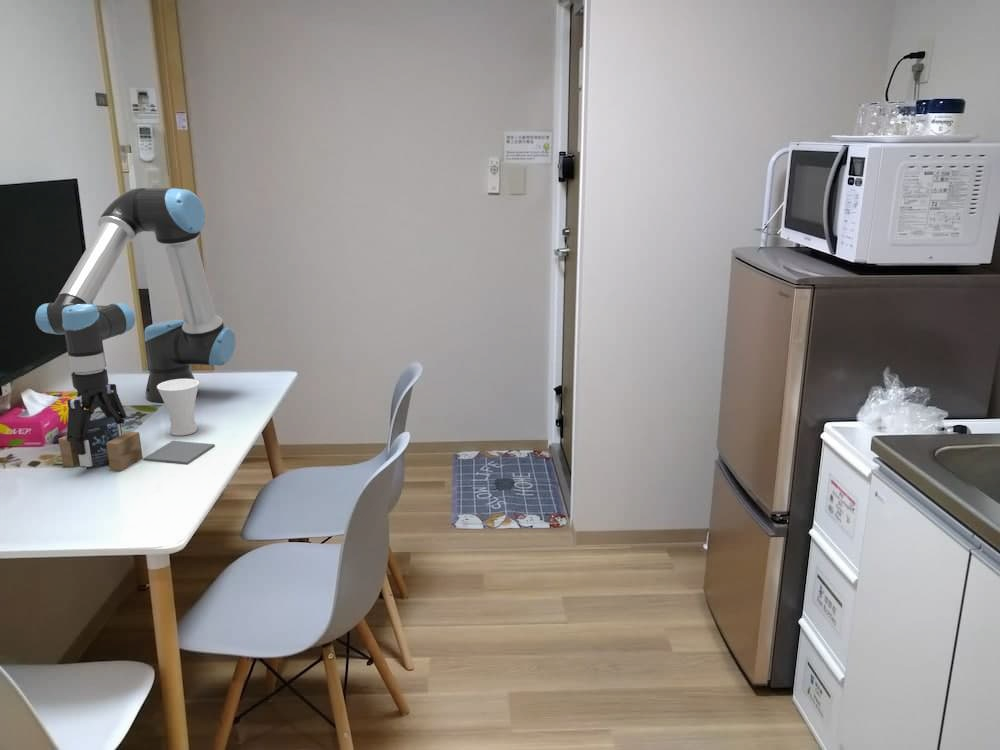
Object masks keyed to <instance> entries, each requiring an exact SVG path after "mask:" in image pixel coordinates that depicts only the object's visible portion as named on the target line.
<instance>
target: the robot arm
mask: <svg viewBox="0 0 1000 750" xmlns="http://www.w3.org/2000/svg"><path fill="white" fill-rule="evenodd" d="M205 218H206V214H205V208H204V205H203V204H202V202H201V200H200V198H199V197H198V196H197V194H195V193H193V192H192V191H191V190H189V189H184V188H183V189H182V188H176V187H172V188H168V187H167V188H166V187H165V188H146V187H139V188H135V189H134V188H133V189H130V190H128V191H127V192H124V193H122V194H121V195H120V196H118V197H117V198H115V200H113V201H112V202H111V203H109V205H108V206H107V207H106V208H105V210H104V211H103V213H102V214H101V215H100V217H99V219H98V221H97V226H98V229H97V230H96V232H95V234H94V236H93V237H92V239H91V240H90V242H89V244H88V246H87V248H86V249H85V250H84V252H83V254H82V255H81V257H80V259H79V260H78V262H77V264H76V265H75V267H74V269H73V271H72V272H71V273H70V275H69V277H68V279H67V281H66V282H65V284H64V286H63V287H62V289H61V290H60V292H59V293H58V296H57V297H56V298H55V301H54V302H49V303H43V304H41V305H40V306H39V307H38V308H37V310H36V311H35V317H34V318H35V324H36V326H37V327H38V328H39V330H41V331H42V332H44V333H46V334H52V335H53V334H54V335H58V336H59V335H61V336H62V335H64V337H65V342H66V348H67V349H66V350H67V355H68V360H69V369H70V371H71V372H72V373H71V374H70V375H71V380H72V387H73V389H75V390H76V391H77V395H76V398H73V399H71V398H69V399H67V407H68V408H67V409H68V413H67V414H68V415H67V416H68V417H67V430H66V435H67V441H70V442H75V445H76V450H77V454H78V455H79V461H80V464H79V465H80V467H85V468H86V467H91V466H92V459H91V453H90V447H89V441H88V440H85V439H86V435H87V431H88V427H89V422H90V420H91V417H92V415H93V414H94V413H95V410H96V409H98V408H99V409H100V410H101V412H103V414H104V415H105V416H106V417H105V418H108V417H114V420H115V422H116V424H117V431H118V436H120V435H122V434H123V431H122V424H124V423H125V421H126V420H125V419H126V418H127V414H126V412H125V411H126V410H125V409H124V406H123V404H122V402H121V398H120V396H119V394H118V390H117V384H115V383H109V375H108V370H107V369H106V368H107V361H106V357H105V350H104V345H103V341H105V340H108V339H110V338H113V337H117V336H121V335H124V334H125V333H127V332H129V331H131V330H132V329H133V328H134V326H135V323H136V317H135V316H136V315H135V312H134V310H133V309H132V308H131V307H130V306H129V305H127V303H126V304H125V303H124V302H116V303H113V302H112V303H110V304H108V305H107V304H106V305H100V304H99V305H97V304H93V303H94V301H95V299H96V297H97V296H98V294H99V292H100V290H101V289H102V288H103V285H104V284H105V282H106V280H107V279H108V277H109V275H110V273H111V272H112V270H113V268H114V266H115V264H116V262H117V261H118V259H119V258H120V255H121V253H122V252H123V251H124V250H125V248H126V245H127V244H128V243H131V242H132V241H134V239H135V237H136V236H137V235H139V234H141V233H142V232H151V233H152V232H153V233H154V235H155V240H156V242H157V243H158V244H160V245H162V246H163V247H164V250H165V253H166V256H167V257H166V258H167V260H168V263H169V267H170V271H171V274H172V277H173V278H172V279H173V282H174V284H175V287H176V292H177V295H178V299H179V302H180V307H181V310H182V314H183V316H184V320H183V319H172V320H165V321H161V322H155V323H153V324H150V325H148V326H146V327H145V328H144V344H145V350H146V357H147V358H146V359H147V364H148V371H149V374H148V379H147V383H146V389H145V396H146V400H148V401H150V402H154V403H164V401H163V399H162V397H161V395H160V393H159V391H158V389H157V385H159V384H160V383H162V382H165V381H169V380H175V379H194V380H196V378H195V377H194V374H193V373H192V370H191V366H190V365H193V366H197V365H198V366H210V367H216V366H217V367H218V366H224V365H226V364H228V363H229V362H230V360H231V359H232V357H233V355H234V352H235V349H236V335H235V331H234V330H233V329H232V328H230V327H229V326H228V327H227V326H226V327H225V325H224V321H223V319H222V317H221V316H219V315H217V314H216V311H215V307H214V303H213V299H212V295H211V291H210V287H209V284H208V281H207V276H206V273H205V272H206V271H205V269H204V264H203V261H202V257H201V253H200V248H199V244H198V241H197V240H198V238H199V237H200V236H201V231H202V230H203V228H204V226H205V223H206V222H205ZM199 390H200V389H199V388H198V390H197V395H198V394H200V393H199V392H200V391H199ZM80 435H81V437H80Z"/></svg>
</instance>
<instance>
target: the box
mask: <svg viewBox="0 0 1000 750" xmlns="http://www.w3.org/2000/svg"><path fill="white" fill-rule="evenodd" d="M80 437H81V435H80ZM116 437H118V431H117V424H116V422H115V420H114V417H108V418H107V417H103V418H97V419H90V422H89V427H88V431H87V435H86V439H85V440H88V441H89V447H90V453H91V459H92V466H91V467H86V466H85V468H86V469H87V470H89V469H92V468H97V467H98V468H99V467H103V466H107V465H109V459H108V452H107V446H106V443H107V442H109V441H111V440H113V439H115V438H116ZM109 466H110V465H109Z"/></svg>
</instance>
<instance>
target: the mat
mask: <svg viewBox="0 0 1000 750" xmlns="http://www.w3.org/2000/svg"><path fill="white" fill-rule="evenodd" d="M213 448H215V443H206V442H205V443H204V442H191V441H179V440H172V441H170V442H168V443H167V444H165V445H163V446H162V447H160V448H158V449H156V450H155V451H153V452H151V453H150V454H148V455H146V456H144V457H143V459H142V460H143V461H145V462H155V463H157V462H158V463H167V464H168V463H169V464H178V465H179V464H180V465H189V464H191V463H192V462H194V461H195V460H196V459H198V458H199V457H201V456H202V455H204V454H205V453H207V452H208V451H210V450H212V449H213Z"/></svg>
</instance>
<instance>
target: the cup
mask: <svg viewBox="0 0 1000 750" xmlns="http://www.w3.org/2000/svg"><path fill="white" fill-rule="evenodd" d="M199 383H200V382H199V380H197V379H195V380H194V379H175V380H169V381H165V382H162V383H160V384H159V385H157V389H158V391H159V393H160V395H161V397H162V399H163V401H164V402H163V403H164V405H165V407H166V409H167V413H168V417H169V422H170V434H171V435H174V436H186V435H192V434H193V433H195V432H197V425H196V420H195V405H196V398H197V395H198V394H197V390H198V389H199Z"/></svg>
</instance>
